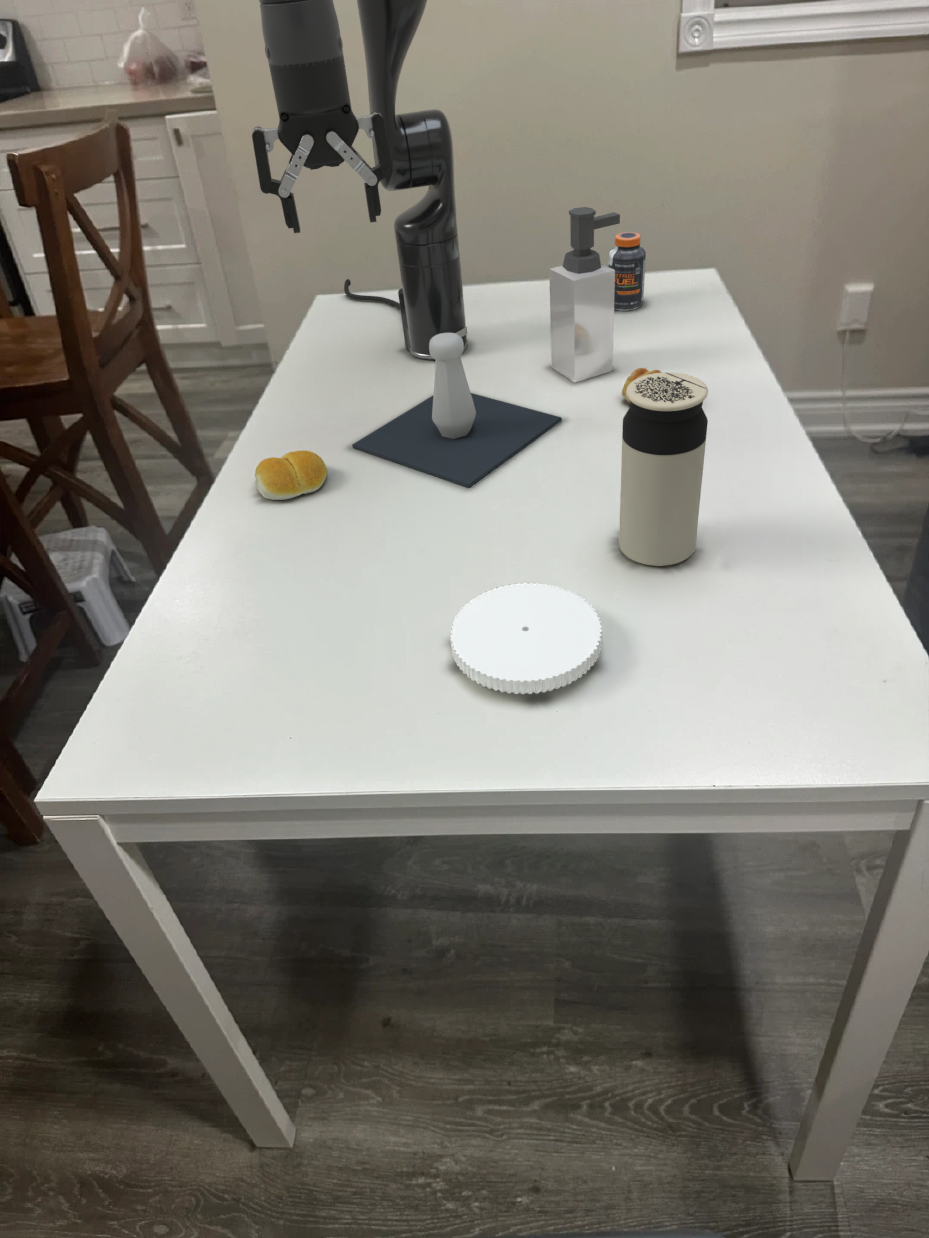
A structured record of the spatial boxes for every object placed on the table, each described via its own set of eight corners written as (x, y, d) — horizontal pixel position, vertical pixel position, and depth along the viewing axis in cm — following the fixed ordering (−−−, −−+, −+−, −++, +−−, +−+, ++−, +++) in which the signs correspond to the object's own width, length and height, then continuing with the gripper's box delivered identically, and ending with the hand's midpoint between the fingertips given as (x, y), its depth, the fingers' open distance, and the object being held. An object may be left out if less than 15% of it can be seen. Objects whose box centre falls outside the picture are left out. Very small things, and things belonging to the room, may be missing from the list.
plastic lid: (448, 704, 77) (445, 683, 75) (456, 605, 87) (454, 585, 86) (607, 700, 75) (607, 679, 74) (596, 600, 86) (596, 580, 85)
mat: (352, 447, 115) (351, 444, 115) (447, 389, 127) (447, 386, 126) (468, 488, 105) (468, 484, 105) (561, 420, 116) (561, 417, 116)
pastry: (702, 402, 117) (705, 376, 114) (673, 422, 113) (675, 395, 111) (645, 385, 122) (646, 359, 120) (615, 403, 119) (616, 377, 116)
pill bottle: (606, 312, 144) (608, 241, 137) (608, 299, 149) (609, 230, 142) (643, 311, 143) (646, 239, 136) (643, 298, 148) (646, 228, 141)
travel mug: (649, 577, 88) (658, 416, 77) (604, 541, 94) (606, 385, 82) (711, 551, 91) (729, 391, 79) (663, 517, 96) (674, 363, 85)
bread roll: (337, 486, 108) (331, 458, 105) (269, 509, 105) (261, 480, 103) (315, 460, 114) (309, 432, 111) (250, 480, 111) (242, 453, 108)
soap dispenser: (625, 367, 127) (631, 207, 113) (574, 382, 125) (573, 221, 111) (601, 352, 132) (603, 197, 118) (551, 367, 129) (547, 211, 115)
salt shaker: (482, 422, 116) (475, 328, 108) (469, 443, 112) (460, 346, 104) (442, 419, 118) (431, 326, 110) (427, 439, 114) (415, 344, 106)
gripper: (373, 42, 90) (394, 209, 100) (235, 59, 89) (271, 226, 99) (379, 50, 84) (401, 226, 94) (232, 68, 83) (270, 244, 93)
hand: (335, 226), depth 97 cm, fingers open, 8 cm apart
